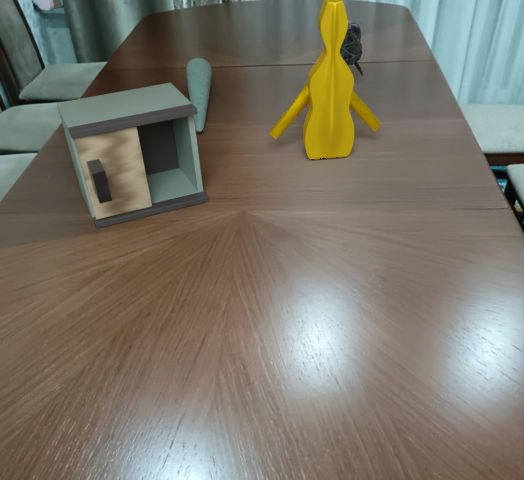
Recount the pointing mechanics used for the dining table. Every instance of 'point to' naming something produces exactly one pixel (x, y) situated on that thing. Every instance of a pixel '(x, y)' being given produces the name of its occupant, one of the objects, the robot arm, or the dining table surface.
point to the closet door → (114, 172)
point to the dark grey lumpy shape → (352, 46)
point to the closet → (144, 143)
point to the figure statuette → (328, 94)
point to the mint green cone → (199, 88)
